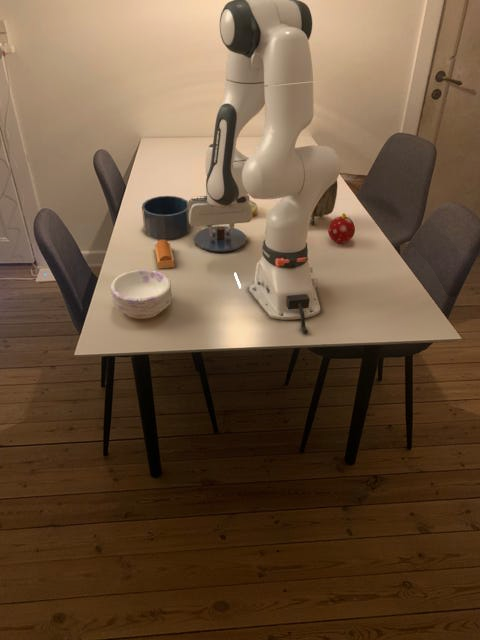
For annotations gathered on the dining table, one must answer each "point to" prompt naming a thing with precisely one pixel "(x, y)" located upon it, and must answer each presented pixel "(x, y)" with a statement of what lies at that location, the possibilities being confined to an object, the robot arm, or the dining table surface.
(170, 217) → the crock
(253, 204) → the decorated donut
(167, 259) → the orange rounded bar
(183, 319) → the dining table surface
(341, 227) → the christmas ornament
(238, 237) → the crock lid
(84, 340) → the dining table surface
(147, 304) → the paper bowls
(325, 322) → the dining table surface
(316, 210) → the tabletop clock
